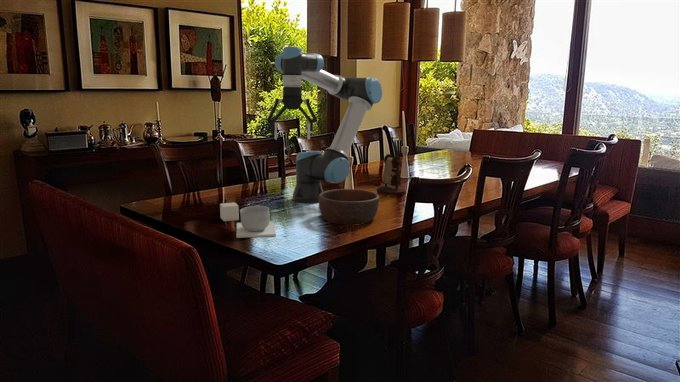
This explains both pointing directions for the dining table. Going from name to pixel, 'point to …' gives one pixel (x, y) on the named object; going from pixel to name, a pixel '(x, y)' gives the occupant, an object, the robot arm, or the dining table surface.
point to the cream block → (229, 211)
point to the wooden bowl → (348, 206)
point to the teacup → (255, 217)
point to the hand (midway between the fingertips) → (292, 139)
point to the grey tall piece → (391, 176)
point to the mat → (263, 233)
